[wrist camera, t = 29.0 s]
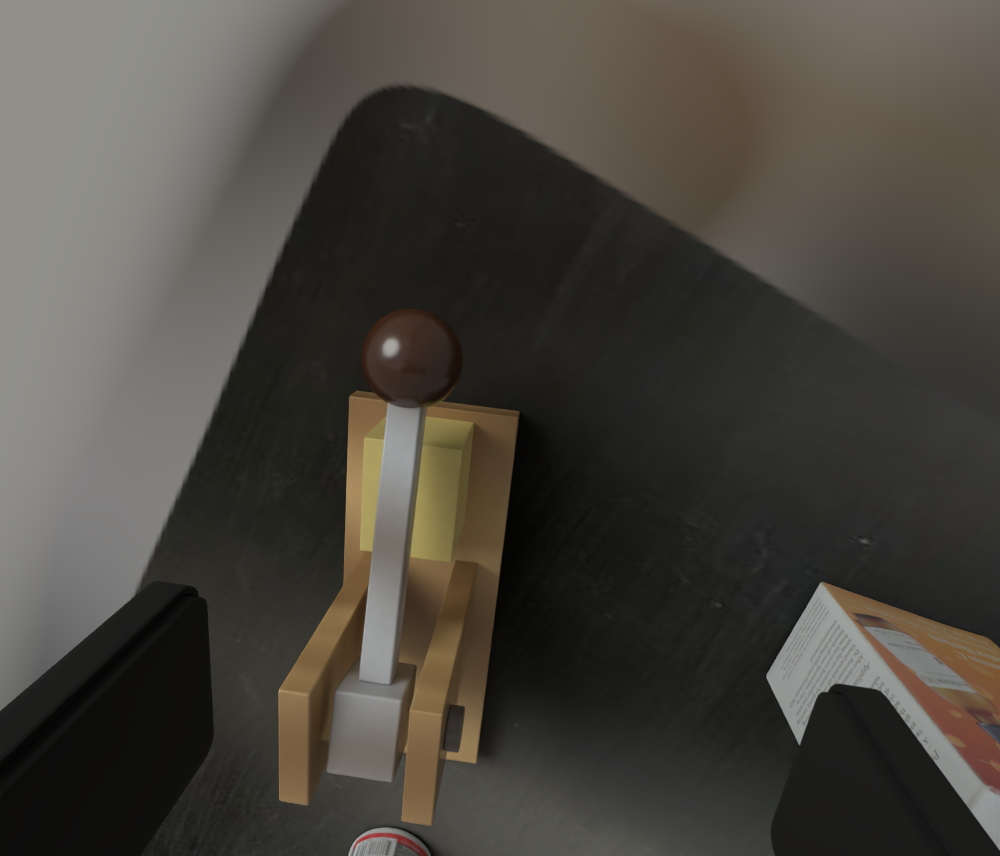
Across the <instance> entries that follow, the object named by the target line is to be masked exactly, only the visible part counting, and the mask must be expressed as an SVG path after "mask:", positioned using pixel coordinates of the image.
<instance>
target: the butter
mask: <svg viewBox="0 0 1000 856" xmlns="http://www.w3.org/2000/svg"><path fill="white" fill-rule="evenodd" d="M385 424H386V417H385V418H384V419H383V420H382V421H381V422H380V423H379V424H378V425H377V426H376V427H375V428H374V429H373V430H372V431H371V432H370V433H369V434H368V435H367V436H366V437H365V438H364V457H363V483H362V508H361V534H360V550H362V551H369V552H372V547H373V538H374V528H375V519H376V509H377V500H378V490H379V481H380V471H381V462H382V452H383V443H384V433H385ZM473 430H474V423H473V422H466V421H458V420H450V419H442V418H434V417H426V419H425V428H424V437H423V446H422V455H421V464H420V473H419V482H418V491H417V500H416V509H415V518H414V527H413V536H412V545H411V554H410V557H413V558H420V559H427V560H434V561H442V562H449V563H451V562H452V560H453V556H454V553H455V550H456V547H457V544H458V541H459V537H460V534H461V531H462V528H463V525H464V522H465V512H466V502H467V492H468V481H469V471H470V461H471V451H472V441H473Z"/></svg>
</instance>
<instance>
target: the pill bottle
mask: <svg viewBox="0 0 1000 856" xmlns="http://www.w3.org/2000/svg"><path fill="white" fill-rule="evenodd" d="M348 856H431V854H430V852H429V850H428V849H427V847H426V846H425V845H424V844H423V843H422V842H421V841H420V840H419V839H418V838H416V837H415V836H413V835H412V834H410V833H408V832H406V831H404V830H401V829H397V828H391V827H382V828H376V829H372V830H369V831H367V832H365V833H364V834H362V835H361V836H359V837H358V838H357V839H356V840H355V842H354V843H353V845H352V847H351V849H350V852H349V855H348Z"/></svg>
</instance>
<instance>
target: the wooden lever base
mask: <svg viewBox="0 0 1000 856" xmlns="http://www.w3.org/2000/svg"><path fill="white" fill-rule="evenodd" d="M387 405H388V403H386V402H385V401H383V400H382V399H381V398H379V397H378V396H377V395H376V394H375V393H370V392H362V391H356V392H355V393H353V394H352V395H351V396H350V397H349V425H348V457H347V489H346V521H345V553H344V585H343V587H342V589H341V590H340V592H339V594H338V595H337V597H336V598H335V600H334V602H333V603H332V605H331V606H330V608H329V610H328V611H327V613H326V615H325V616H324V618H323V619H322V621H321V623H320V624H319V626H318V627H317V629H316V631H315V632H314V634H313V636H312V637H311V639H310V640H309V642H308V644H307V645H306V647H305V648H304V650H303V652H302V653H301V655H300V656H299V658H298V660H297V661H296V663H295V665H294V666H293V668H292V669H291V671H290V673H289V674H288V676H287V677H286V679H285V681H284V682H283V684H282V686H281V687H280V689H279V800H280V801H283V802H289V803H295V804H301V805H308V804H309V803H310V801H311V798H312V796H313V794H314V792H315V789H316V787H317V785H318V782H319V780H320V778H321V776H322V773H323V771H324V769H325V766H326V764H327V761H328V751H329V742H330V732H331V722H332V712H333V702H334V693H335V690H336V689H337V687H338V686H339V684H340V682H341V681H342V679H343V678H344V676H345V675H346V673H347V671H348V670H349V668H350V667H351V665H352V664H353V662H354V660H355V659H356V657H358V656H361V651H362V642H363V633H364V623H365V614H366V604H367V595H368V585H369V576H370V566H371V557H372V552H369V551H362V550H360V534H361V508H362V483H363V457H364V438H365V437H366V436H367V435H368V434H369V433H370V432H371V431H372V430H373V429H374V428H375V427H376V426H377V425H378V424H379V423H380V422H381V421H382V420H383V419H384V418H385V417H386V414H387ZM519 415H520V412H519V411H513V410H505V409H497V408H489V407H481V406H473V405H465V404H458V403H450V402H442V401H441V402H439V403H438V404H436V405H434V406H431V407H428V408H427V410H426V417H434V418H442V419H450V420H458V421H466V422H473V423H474V430H473V441H472V451H471V461H470V471H469V481H468V492H467V502H466V512H465V522H464V525H463V528H462V531H461V534H460V537H459V541H458V544H457V547H456V550H455V553H454V556H453V560H452V562H451V563H449V562H442V561H434V560H427V559H420V558H413V557H410V563H409V572H408V581H407V590H406V598H405V607H404V616H403V625H402V634H401V643H400V652H399V661H398V662H402V663H408V664H415V665H416V666H417V671H416V680H415V688H414V697H413V701H412V704H411V708H410V713H409V727H408V740H407V744H406V747H405V750H404V753H406V766H405V779H404V792H403V806H402V821H404V822H410V823H416V824H422V825H429V826H432V824H433V819H434V814H435V809H436V805H437V800H438V795H439V790H440V785H441V780H442V775H443V770H444V765H445V761H446V759H448V760H455V761H461V762H468V763H474V764H476V763H477V757H478V750H479V742H480V734H481V725H482V717H483V709H484V701H485V693H486V685H487V676H488V668H489V660H490V652H491V644H492V636H493V628H494V619H495V611H496V603H497V595H498V587H499V579H500V570H501V562H502V554H503V546H504V538H505V530H506V521H507V513H508V505H509V497H510V489H511V481H512V473H513V464H514V456H515V448H516V440H517V432H518V424H519Z"/></svg>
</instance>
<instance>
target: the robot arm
mask: <svg viewBox="0 0 1000 856" xmlns="http://www.w3.org/2000/svg"><path fill="white" fill-rule="evenodd" d="M213 735H214V727H213V707H212V688H211V669H210V650H209V631H208V612H207V603H206V601H205V599H204V598H201V597H199V596H198V592H197V590H196V588H194V587H192V586H187V585H181V584H174V583H167V582H161V581H156V582H152V583H151V584H149V585H147V586H146V587H145V588H144V589H143V590H142V591H140V592H139V593H138V594H137V595H136V596H135V597H133V598H132V599H131V600H130V601H129V602H128V603H126V604H125V605H124V606H123V607H122V608H121V609H119V610H118V611H117V612H116V613H115V614H114V615H112V616H111V617H110V618H109V619H108V620H106V621H105V622H104V623H103V624H102V625H101V626H99V627H98V628H97V629H96V630H95V631H94V632H92V633H91V634H90V635H89V636H88V637H87V638H85V639H84V640H83V641H82V642H81V643H79V644H78V645H77V646H76V647H75V648H74V649H73V650H71V651H70V652H69V653H68V654H67V655H65V656H64V657H63V658H62V659H61V660H60V661H58V662H57V663H56V664H55V665H54V666H53V667H51V668H50V669H49V670H48V671H47V672H46V673H44V674H43V675H42V676H41V677H40V678H39V679H37V680H36V681H35V682H34V683H33V684H31V685H30V686H29V687H28V688H27V689H26V690H24V691H23V692H22V693H21V694H20V695H19V696H17V697H16V698H15V699H14V700H13V701H12V702H10V703H9V704H8V705H7V706H6V707H4V708H3V709H2V710H1V711H0V856H141V854H142V853H143V851H144V850H145V848H146V847H147V845H148V844H149V842H150V841H151V839H152V838H153V836H154V835H155V833H156V832H157V830H158V829H159V827H160V826H161V824H162V823H163V821H164V820H165V818H166V817H167V815H168V814H169V812H170V811H171V809H172V808H173V806H174V805H175V803H176V802H177V800H178V799H179V797H180V796H181V794H182V793H183V791H184V790H185V788H186V787H187V785H188V784H189V782H190V781H191V779H192V778H193V776H194V775H195V773H196V772H197V770H198V769H199V767H200V766H201V764H202V763H203V761H204V760H205V758H206V756H207V754H208V752H209V750H210V747H211V744H212V740H213ZM771 840H772V846H773V850H774V853H775V856H1000V850H999V849H998V847H997V846H996V844H995V843H994V842H993V840H992V839H991V838H990V836H989V835H988V834H987V832H986V831H985V830H984V828H983V827H982V826H981V824H980V823H979V821H978V820H977V819H976V817H975V816H974V815H973V813H972V812H971V811H970V809H969V808H968V807H967V805H966V804H965V802H964V801H963V800H962V798H961V797H960V796H959V794H958V793H957V792H956V790H955V789H954V788H953V786H952V785H951V784H950V782H949V781H948V779H947V778H946V777H945V775H944V774H943V773H942V771H941V770H940V769H939V767H938V766H937V765H936V763H935V762H934V760H933V759H932V758H931V756H930V755H929V754H928V752H927V751H926V750H925V748H924V747H923V746H922V744H921V743H920V742H919V740H918V739H917V737H916V736H915V735H914V733H913V732H912V731H911V729H910V728H909V727H908V725H907V724H906V723H905V721H904V720H903V719H902V717H901V716H900V714H899V713H898V712H897V710H896V709H895V708H894V706H893V705H892V704H891V702H890V701H889V700H888V698H887V697H886V696H885V695H884V694H883V693H882V692H881V691H879V690H877V689H872V688H866V687H859V686H852V685H846V684H834V685H832V686H831V687H830V688H829V690H828V692H821V693H820V694H819V695H818V696H817V698H816V701H815V703H814V706H813V709H812V712H811V715H810V717H809V720H808V723H807V726H806V729H805V731H804V734H803V737H802V740H801V743H800V745H799V748H798V751H797V754H796V757H795V759H794V762H793V765H792V768H791V771H790V773H789V776H788V779H787V782H786V785H785V787H784V790H783V793H782V796H781V799H780V801H779V804H778V807H777V810H776V813H775V815H774V818H773V821H772V826H771Z"/></svg>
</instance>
